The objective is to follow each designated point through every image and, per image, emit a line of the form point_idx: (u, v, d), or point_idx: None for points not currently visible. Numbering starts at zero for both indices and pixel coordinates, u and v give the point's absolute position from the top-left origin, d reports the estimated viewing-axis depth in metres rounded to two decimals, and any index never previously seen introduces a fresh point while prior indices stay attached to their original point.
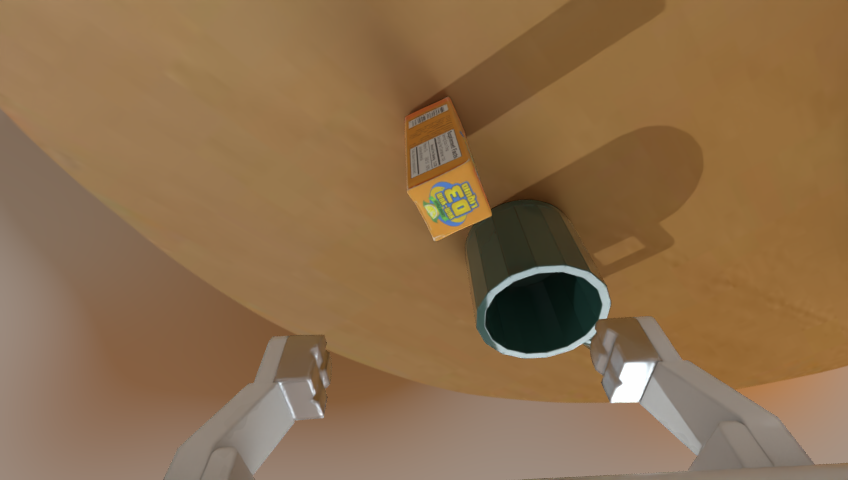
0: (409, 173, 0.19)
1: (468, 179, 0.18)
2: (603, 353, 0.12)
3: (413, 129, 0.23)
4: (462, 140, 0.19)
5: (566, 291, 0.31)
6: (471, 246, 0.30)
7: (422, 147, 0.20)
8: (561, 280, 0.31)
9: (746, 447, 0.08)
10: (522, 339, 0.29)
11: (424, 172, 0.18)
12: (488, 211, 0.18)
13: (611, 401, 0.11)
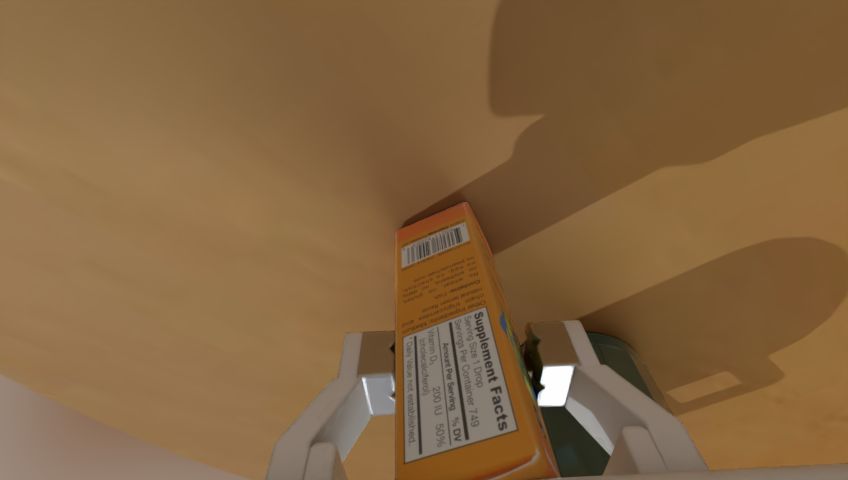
0: (401, 436, 0.09)
1: None
2: (532, 357, 0.12)
3: (410, 274, 0.13)
4: (510, 357, 0.09)
5: None
6: None
7: (426, 345, 0.11)
8: None
9: (644, 452, 0.08)
10: None
11: (433, 455, 0.08)
12: None
13: None
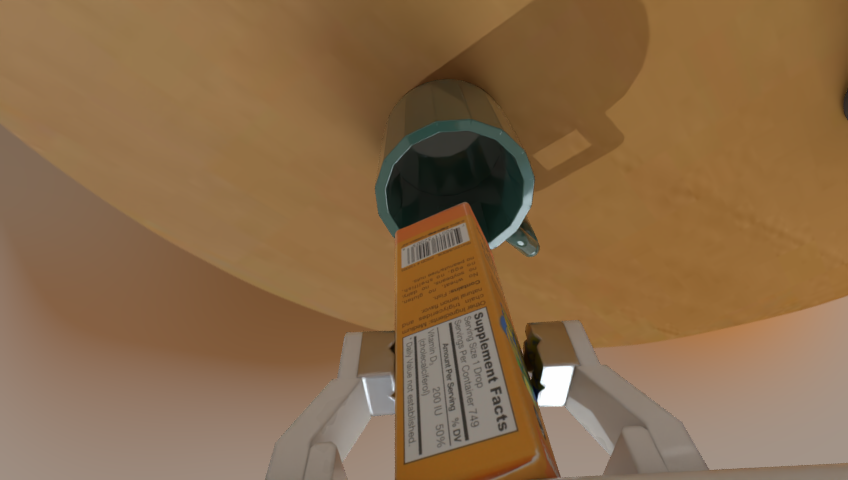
0: (401, 436, 0.09)
1: None
2: (532, 358, 0.12)
3: (410, 274, 0.13)
4: (510, 358, 0.09)
5: (497, 189, 0.26)
6: (384, 134, 0.26)
7: (426, 345, 0.11)
8: (493, 180, 0.27)
9: (645, 452, 0.08)
10: None
11: (433, 455, 0.08)
12: None
13: None
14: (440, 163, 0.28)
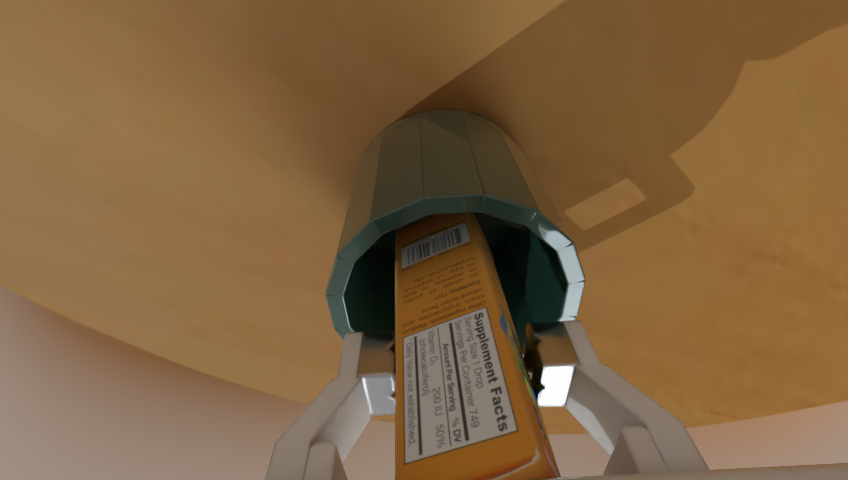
0: (401, 436, 0.09)
1: None
2: (532, 357, 0.12)
3: (410, 274, 0.13)
4: (510, 358, 0.09)
5: (516, 267, 0.18)
6: (351, 190, 0.17)
7: (426, 345, 0.11)
8: (510, 251, 0.19)
9: (645, 452, 0.08)
10: None
11: (433, 455, 0.08)
12: None
13: None
14: None
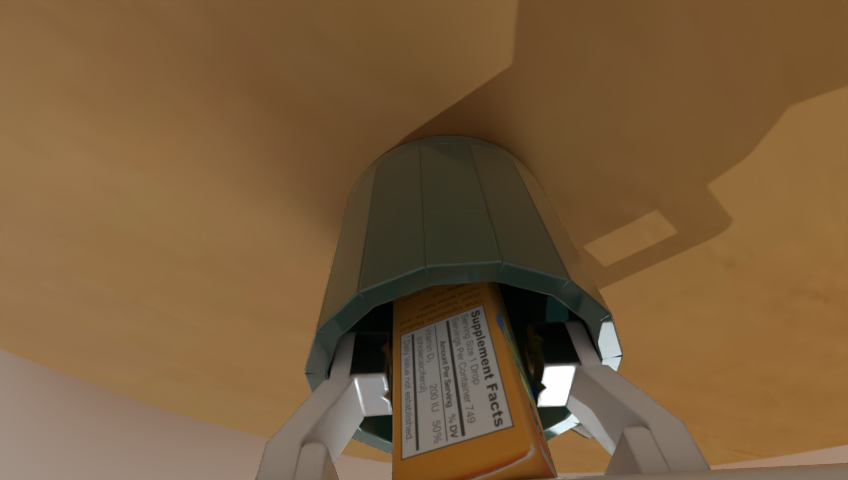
0: (398, 433, 0.09)
1: None
2: (533, 357, 0.12)
3: None
4: (506, 355, 0.09)
5: (531, 316, 0.16)
6: (340, 229, 0.15)
7: (424, 343, 0.11)
8: (523, 294, 0.17)
9: (646, 452, 0.08)
10: None
11: (430, 451, 0.08)
12: None
13: (538, 405, 0.11)
14: None
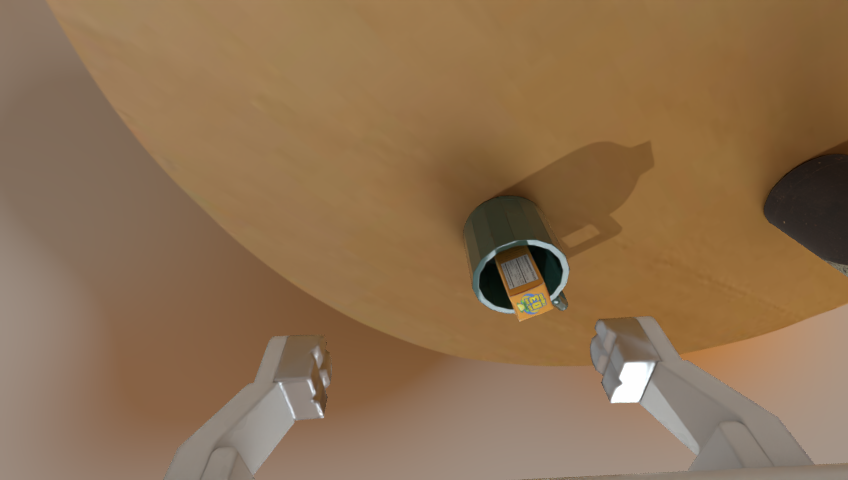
0: (507, 285, 0.34)
1: (542, 291, 0.32)
2: (604, 354, 0.12)
3: None
4: (535, 265, 0.34)
5: (540, 265, 0.40)
6: (468, 230, 0.40)
7: (509, 265, 0.35)
8: (536, 257, 0.41)
9: (746, 447, 0.08)
10: (506, 300, 0.39)
11: (517, 286, 0.33)
12: (551, 306, 0.33)
13: (611, 401, 0.11)
14: None
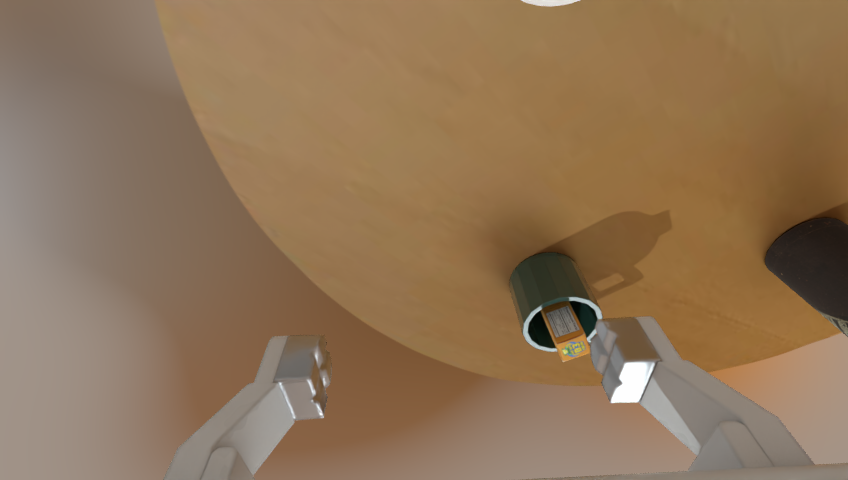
0: (553, 333, 0.42)
1: (583, 340, 0.40)
2: (603, 354, 0.12)
3: None
4: (576, 317, 0.42)
5: (575, 309, 0.48)
6: (515, 281, 0.47)
7: (553, 315, 0.43)
8: (571, 302, 0.49)
9: (746, 447, 0.08)
10: (548, 339, 0.47)
11: (562, 335, 0.41)
12: (589, 351, 0.41)
13: (611, 401, 0.11)
14: None
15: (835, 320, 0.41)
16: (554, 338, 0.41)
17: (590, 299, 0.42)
